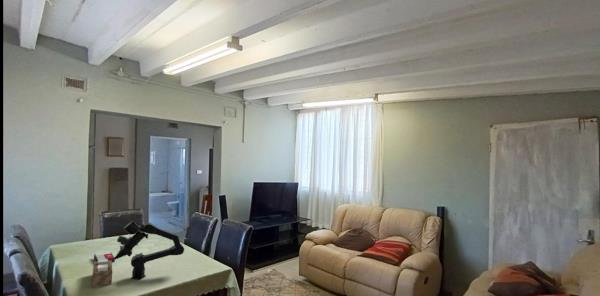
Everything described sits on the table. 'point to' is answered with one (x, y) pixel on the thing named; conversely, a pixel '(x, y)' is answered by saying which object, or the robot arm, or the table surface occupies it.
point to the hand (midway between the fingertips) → (114, 258)
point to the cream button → (103, 267)
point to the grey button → (103, 262)
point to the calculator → (104, 256)
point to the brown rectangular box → (102, 275)
